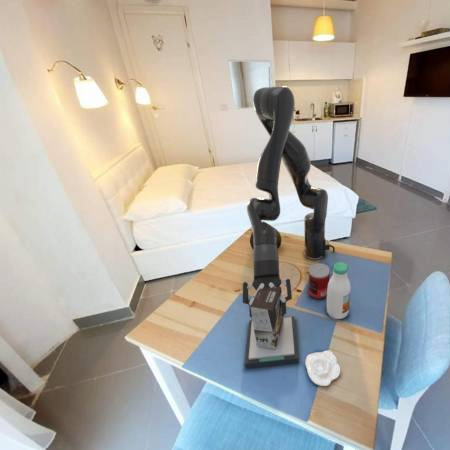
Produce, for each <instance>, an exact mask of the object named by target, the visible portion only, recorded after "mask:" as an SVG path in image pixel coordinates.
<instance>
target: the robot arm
mask: <svg viewBox="0 0 450 450" xmlns="http://www.w3.org/2000/svg"><path fill="white" fill-rule="evenodd" d="M252 100H253V108H254V112H255V114H256V116H257V119H258V120H259V121H260V123H261V124H262V126H263V128H264V129H265V131H266V132H267V134H268V136H269V139H268V141H267V143H266V145H265V147H264V148H263V150H262V152H261V153H260V155H259V158H258V161H257V165H256V173H255V174H256V175H255V184H254V185H255V188H256V189H257V190H259V191H261V192H265V193H267V195H268V198H263V197H251V198H250V199H249V200H248V201H247V204H246V213H247V217H248V219H249V222H250V225H251V229H252V232H253V236H254V250H253V251H252V252H253V253H252V256H253V257H252V258H253V281H251V282H247V281H244V282H242V303H243V304H245V305H248V307H249V311H248V312H249V317H250V318H252V314H251V304H252V302H253V300H254V298H255V296H256V294H257V292H258V290H259V289H261V290H262V289H263V288H264V287H267V286H269V287H271V288H276V287H275V286H278V287H281V285H283V287H285V288H286V294H287V295H286V296H284V295H283V294H281V293H280V300H281V301H282V303H281V312H282V317H285V315H287V302H289V301H291V300H292V299H293V293H292V286H291V285H292V284H291V279H290V278H286V279H281V277H280V263H279V262H280V261H279V249H277V241H276V230H275V229H276V228H275V227H274V226H272V225H271V226H272V227H271V226H268V225H265V224H263V223H262V222H263V221H265V222H266V221H267V222H268V221H269V222H274V221H276V220H277V219H279V217H280V216H281V203H280V197H279V178H280V172H281V171H280V170H281V164H282V163H283V166H284V167H285V169H286V171H287V172H288V174H289V177H290V179H291V182H292V184H293V186H294V189H295V192H296V195H297V197H298V200H299V202H300V204H301V205H302V206H303V207H305V208H307V209H309V210H313V212H309V213H306V214H305V216H304V219H303V220H304V221H303V224H304V225H303V226H304V229H303V230H304V232H303V233H304V245H303V247H304V256H305V258H307V259H308V260H312V261H316V260H317V261H319V260H321V259H323V258H326V251H330V250H331V249H330V248H332V252H333V253H335V251H336V248H335V247H334V245H332V244H331V243H330V241H329V239H326V219H327V214H328V203H329V193H328V192H327V190H326V189H324V188H319V187H316V186H312V184H311V183H310V180H309V179H308V176H309V174H310V170H311V166H312V165H311V164H312V163H311V159H310V157H309V153H308V150H307V148H306V146H305V145H304V143H303V142H302V141H301V140H300V139H299V138H298V137H296V136H295V135H294V133H293V132H291V131H290V129H291V125H292V121H293V117H294V113H295V105H296V101H295V96H294V93H293V91H292V90H291V89H290V88H289V87H287V86H283V85H279V86H268V87H267V86H265V87H260V88H258V89H257V90H256V91H255V92H254V94H253V99H252ZM273 227H274V228H273ZM252 287H253V288H254V290H255V292H254V294H253V296H252V297H251V299H249V291H250V290H251V288H252Z"/></svg>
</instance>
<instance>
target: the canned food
mask: <svg viewBox="0 0 450 450" xmlns="http://www.w3.org/2000/svg"><path fill="white" fill-rule="evenodd" d="M330 276H331V271H330V266H328V265H326V264H325V263H314V264H312V265H311V266H309V268H308V292H309V295H310V296H311V298H313V299H316V300H322V299H324V298H327V289H328V283H329V280H330V278H331V277H330Z"/></svg>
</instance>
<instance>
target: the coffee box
mask: <svg viewBox="0 0 450 450" xmlns="http://www.w3.org/2000/svg"><path fill="white" fill-rule="evenodd" d="M275 287H276V288H271V287H269V286H267V287H264V288H263V289H262V290H261V289H259V290H258V292H257V294H256V296H255V298H254V300H253V302H252V304H251V314H252V317H251V320H253V327H254V333H255V339H256V346H260V347H265V348H270V349H276V348H277V345H278V342H279V339H280V336H281V333H282V329H283V326H284V317H285V316H284V317H282V312H281V303H282V301H281V300H280V293H281V294H282V286H280V287H278V286H275ZM282 295H283V294H282Z"/></svg>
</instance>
